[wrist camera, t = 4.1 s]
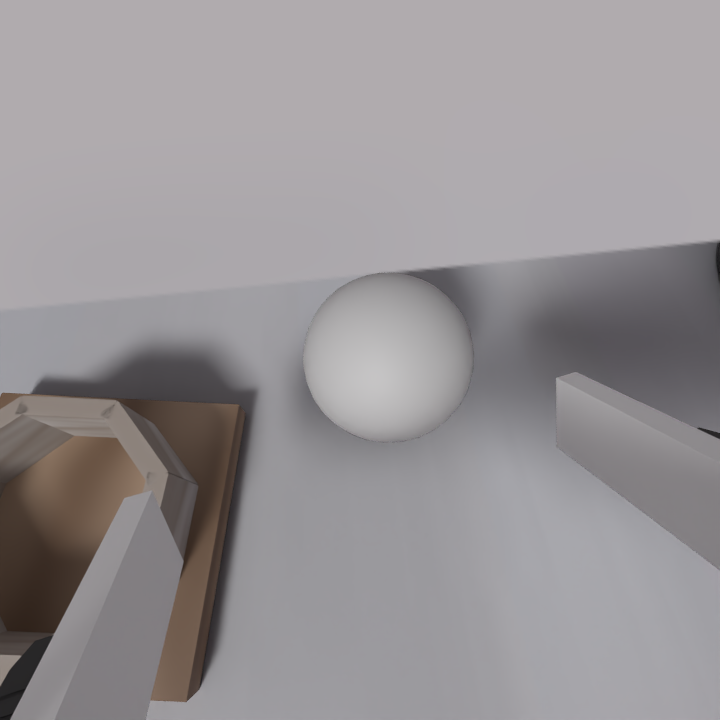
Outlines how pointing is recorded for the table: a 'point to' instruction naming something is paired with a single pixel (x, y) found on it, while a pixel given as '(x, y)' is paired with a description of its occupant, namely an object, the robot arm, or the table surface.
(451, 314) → the lightbulb
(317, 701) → the table surface
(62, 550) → the bulb socket
